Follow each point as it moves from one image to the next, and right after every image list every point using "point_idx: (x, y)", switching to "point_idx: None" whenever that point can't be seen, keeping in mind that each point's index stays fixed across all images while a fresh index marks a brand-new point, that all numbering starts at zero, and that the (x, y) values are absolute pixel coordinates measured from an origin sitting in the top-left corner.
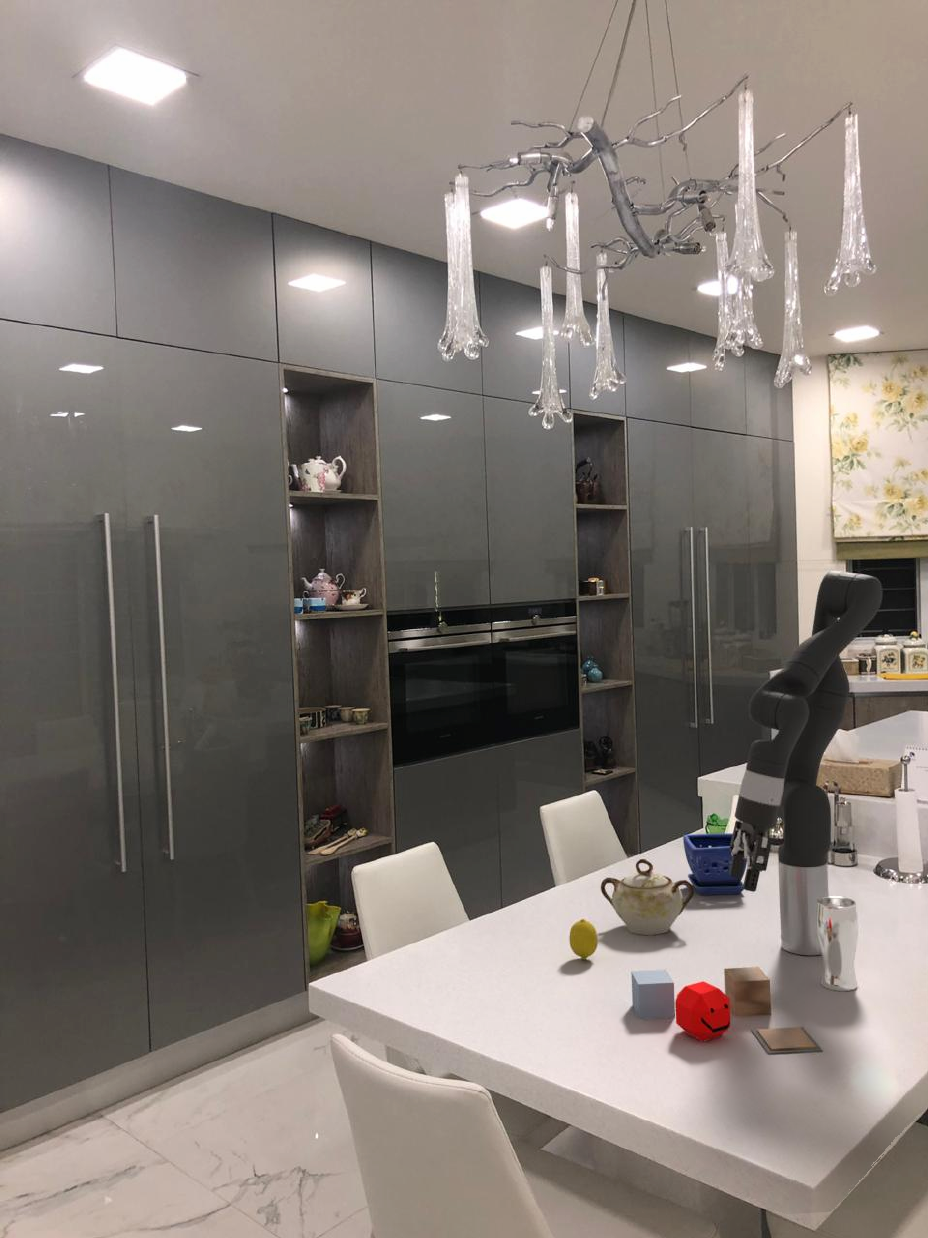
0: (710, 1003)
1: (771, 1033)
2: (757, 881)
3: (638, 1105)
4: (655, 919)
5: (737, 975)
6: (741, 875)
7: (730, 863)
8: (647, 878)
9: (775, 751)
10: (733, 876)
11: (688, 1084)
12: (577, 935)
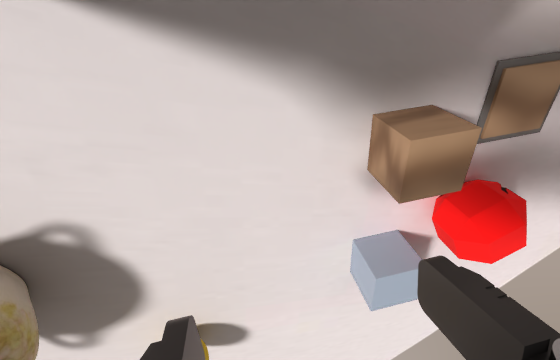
0: (526, 227)
1: (503, 120)
2: (486, 290)
3: (547, 247)
4: (25, 309)
5: (437, 184)
6: (187, 328)
7: None
8: None
9: None
10: (201, 350)
11: (542, 215)
12: None
